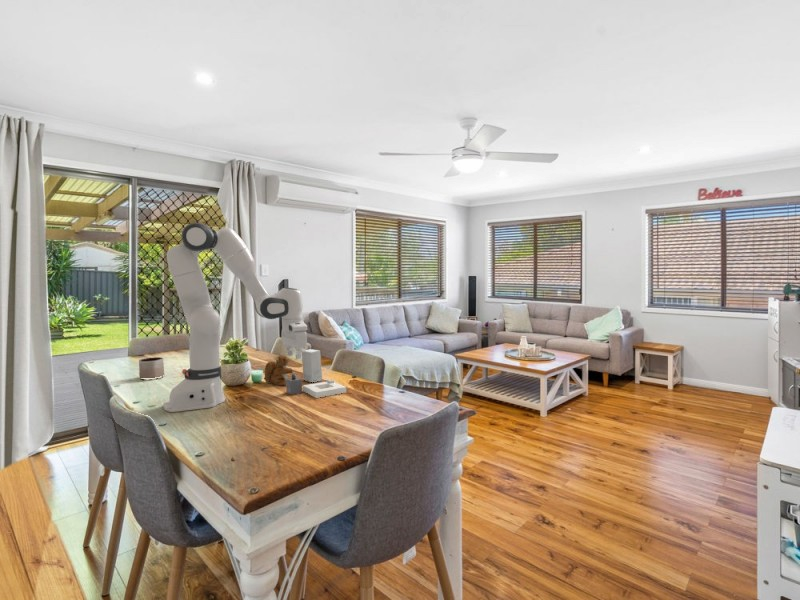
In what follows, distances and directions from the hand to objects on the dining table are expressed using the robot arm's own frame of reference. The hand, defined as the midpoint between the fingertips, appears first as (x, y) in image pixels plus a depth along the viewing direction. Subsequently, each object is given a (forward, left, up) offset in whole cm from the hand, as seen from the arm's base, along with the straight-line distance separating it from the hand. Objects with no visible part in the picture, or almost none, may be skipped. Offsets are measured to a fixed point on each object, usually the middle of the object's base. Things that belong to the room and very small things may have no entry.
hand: (294, 356), depth 192 cm
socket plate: (+11, -7, -16) cm, 20 cm away
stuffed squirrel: (0, +22, -16) cm, 27 cm away
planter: (-47, +70, -16) cm, 86 cm away
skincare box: (+15, +15, -16) cm, 26 cm away
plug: (0, 0, -16) cm, 16 cm away
